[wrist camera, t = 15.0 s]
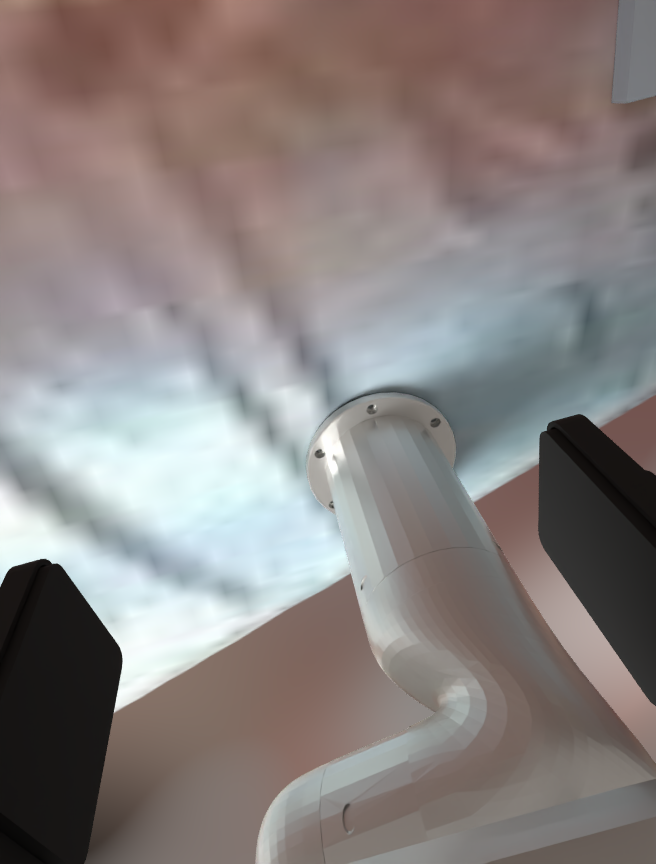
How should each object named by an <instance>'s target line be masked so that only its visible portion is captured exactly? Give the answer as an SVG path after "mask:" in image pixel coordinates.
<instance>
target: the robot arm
mask: <svg viewBox="0 0 656 864" xmlns="http://www.w3.org/2000/svg"><path fill="white" fill-rule="evenodd" d="M370 405H371V406H370ZM455 457H456V442H455V438H454V433H453V431H452V429H451V427H450V425H449V423H448V422H447V420H446V419H445V417H444V416H443V415H442V413H441V412H440V411H439V410H438V409H437V408H435V407H434V406H433V405H432V404H430V403H429V402H427V401H425V400H423V399H422V398H419V397H416V396H413V395H410V394H404V393H396V392H390V393H377V394H373V395H368V396H364V397H361V398H359V399H356V400H354V401H352V402H349V403H348V404H346V405H344V406H343V407H341V408H339V409H338V410H336V411H335V412H334V413H333V414H332V415H331V416H329V417H328V418H327V419H326V420H325V421H324V422H323V424H322V425H321V426H320V427H319V428H318V430H317V431H316V433H315V435H314V437H313V438H312V440H311V442H310V445H309V448H308V452H307V456H306V471H307V478H308V482H309V485H310V488H311V491H312V492H313V494H314V496H315V497H316V499H317V500H318V501H319V502H320V503H321V504H322V506H323V507H324V508H326V509H327V510H329V511H330V512H332V513H333V514H335V515H336V516H337V520H338V524H339V528H340V532H341V536H342V539H343V543H344V547H345V551H346V555H347V559H348V563H349V567H350V571H351V575H352V578H353V582H354V586H355V590H356V594H357V598H358V602H359V606H360V609H361V613H362V617H363V621H364V625H365V628H366V632H367V636H368V639H369V643H370V646H371V649H372V652H373V653H374V656H375V658H376V660H377V662H378V664H379V665H380V667H381V668H382V669H383V671H384V672H385V673H386V675H387V676H388V677H389V678H390V679H391V680H392V681H393V682H394V683H395V684H396V685H397V686H398V687H399V688H400V689H401V690H403V691H404V692H405V693H406V694H408V695H409V696H411V697H412V698H413V699H415V700H416V701H418V702H419V703H421V704H422V705H424V706H425V707H427V708H429V709H430V710H432V711H434V712H435V713H434V714H433V715H432V716H430V717H428V718H426V719H424V720H422V721H420V722H418V723H416V724H414V725H412V726H410V727H409V728H408V729H406V730H403V731H401V732H399V733H396V734H394V735H391V736H389V737H387V738H384V739H382V740H380V741H377V742H375V743H373V744H370V745H368V746H366V747H363V748H361V749H358V750H356V751H354V752H351V753H349V754H347V755H344V756H342V757H339V758H337V759H335V760H333V761H331V762H329V763H327V764H324V765H322V766H320V767H317V768H316V769H314V770H312V771H310V772H308V773H306V774H304V775H302V776H301V777H299V778H297V779H296V780H294V781H293V782H291V783H290V784H289V785H288V786H287V787H285V788H284V789H283V790H282V791H281V792H280V794H279V795H278V796H277V797H276V798H275V799H274V801H273V802H272V804H271V806H270V807H269V809H268V811H267V813H266V814H265V817H264V819H263V822H262V825H261V829H260V832H259V836H258V841H257V849H256V864H656V763H655V762H654V760H653V759H652V758H651V756H650V755H649V754H648V752H647V751H646V749H645V748H644V747H643V745H642V744H641V743H640V742H639V740H638V739H637V738H636V737H635V735H634V734H633V733H632V732H631V731H630V730H629V728H628V727H627V726H626V725H625V723H624V722H623V721H622V720H621V719H620V717H619V716H618V715H617V714H616V713H615V711H614V710H613V709H612V708H611V707H610V705H609V704H608V703H607V702H606V700H605V699H604V698H603V697H602V696H601V694H600V693H599V692H598V691H597V690H596V689H595V687H594V686H593V685H592V683H591V682H590V681H589V680H588V679H587V677H586V676H585V675H584V674H583V672H582V671H581V670H580V669H579V667H578V666H577V665H576V663H575V662H574V661H573V659H572V658H571V657H570V656H569V654H568V653H567V651H566V650H565V649H564V648H563V646H562V645H561V643H560V642H559V640H558V639H557V637H556V636H555V634H554V633H553V631H552V630H551V629H550V627H549V626H548V624H547V623H546V621H545V620H544V618H543V617H542V615H541V613H540V612H539V610H538V609H537V607H536V606H535V604H534V602H533V601H532V599H531V598H530V596H529V594H528V593H527V591H526V589H525V588H524V586H523V584H522V583H521V581H520V580H519V578H518V576H517V574H516V573H515V571H514V570H513V568H512V567H511V565H510V563H509V562H508V560H507V558H506V556H505V555H504V553H503V551H502V550H501V548H500V546H499V545H498V543H497V541H496V540H495V538H494V536H493V535H492V533H491V531H490V530H489V528H488V526H487V525H486V523H485V521H484V520H483V518H482V516H481V515H480V513H479V512H478V510H477V508H476V506H475V505H474V503H473V501H472V500H471V498H470V496H469V495H468V493H467V491H466V490H465V488H464V486H463V485H462V483H461V481H460V480H459V478H458V476H457V475H456V473H455V471H454V470H453V466H454V462H455ZM538 531H539V537H540V541H541V543H542V545H543V548H544V549H545V551H546V552H547V554H548V555H549V557H550V558H551V560H552V561H553V562H554V564H555V565H556V567H557V568H558V570H559V571H560V573H561V574H562V575H563V577H564V578H565V580H566V581H567V583H568V584H569V586H570V587H571V589H572V590H573V591H574V593H575V594H576V596H577V597H578V599H579V600H580V601H581V603H582V604H583V606H584V607H585V609H586V610H587V612H588V613H589V615H590V616H591V617H592V619H593V620H594V622H595V623H596V625H597V626H598V628H599V629H600V630H601V632H602V633H603V635H604V636H605V638H606V639H607V640H608V642H609V643H610V645H611V646H612V648H613V649H614V651H615V652H616V653H617V655H618V656H619V658H620V659H621V661H622V662H623V664H624V665H625V666H626V668H627V669H628V671H629V672H630V674H631V675H632V677H633V678H634V679H635V681H636V682H637V684H638V685H639V687H640V688H641V689H642V691H643V692H644V694H645V695H646V697H647V698H648V699H649V700H650V702H651V703H653V704H654V705H655V706H656V475H654V474H653V473H652V472H650V471H646V470H644V469H643V468H642V467H641V466H639V465H638V464H637V463H636V462H635V461H634V460H633V459H632V458H631V457H630V456H628V455H627V454H626V453H625V452H624V451H623V450H622V449H621V448H619V446H617V445H616V444H615V443H614V442H613V441H612V440H611V439H610V438H609V437H607V436H606V435H605V434H604V433H603V432H602V431H601V430H600V429H599V428H598V427H596V426H595V425H594V424H593V423H592V422H591V421H590V420H589V419H588V418H586V417H585V416H583V415H580V414H578V415H574V416H570V417H567V418H563V419H559V420H556V421H552V422H550V423H549V424H548V426H547V431H544V432H542V433H541V434H540V446H539V523H538ZM121 670H122V653H121V650H120V647H119V646H118V644H117V643H116V641H115V640H114V639H113V637H112V636H111V634H110V633H109V632H108V630H107V629H106V627H105V626H104V625H103V623H102V622H101V620H100V619H99V618H98V616H97V615H96V613H95V612H94V611H93V609H92V608H91V607H90V605H89V604H88V602H87V601H86V600H85V598H84V597H83V595H82V594H81V593H80V591H79V590H78V588H77V587H76V586H75V584H74V583H73V581H72V580H71V579H70V577H69V576H68V575H67V573H66V572H65V570H64V569H63V568H62V567H61V566H60V565H59V564H52V563H51V562H50V561H49V560H47V559H40V560H36V561H33V562H29V563H25V564H22V565H18V566H14V567H12V568H11V569H9V571H8V572H7V574H6V576H5V578H4V580H3V582H2V584H1V587H0V864H84V862H85V860H86V856H87V853H88V847H89V842H90V837H91V832H92V826H93V821H94V815H95V810H96V805H97V799H98V794H99V788H100V783H101V778H102V772H103V767H104V761H105V756H106V751H107V745H108V740H109V735H110V729H111V724H112V718H113V713H114V708H115V702H116V697H117V691H118V686H119V681H120V675H121Z"/></svg>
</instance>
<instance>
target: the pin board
mask: <svg viewBox="0 0 656 864" xmlns="http://www.w3.org/2000/svg"><path fill="white" fill-rule="evenodd" d="M653 96H656V0H619V8H618V22H617V35H616V49H615V62H614V76H613V90H612V103H630V102H633V101H637V100H641V99H645V98H649V97H653Z"/></svg>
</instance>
